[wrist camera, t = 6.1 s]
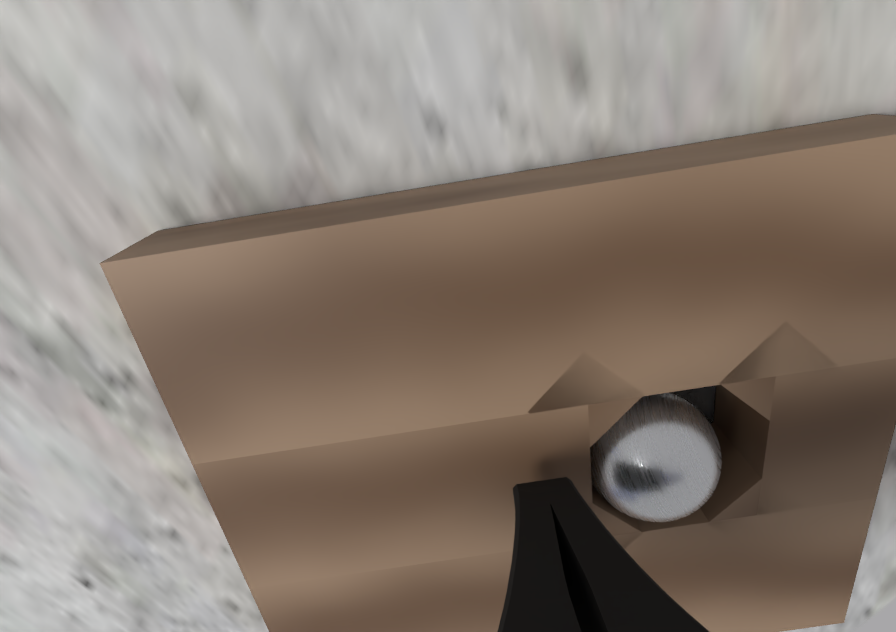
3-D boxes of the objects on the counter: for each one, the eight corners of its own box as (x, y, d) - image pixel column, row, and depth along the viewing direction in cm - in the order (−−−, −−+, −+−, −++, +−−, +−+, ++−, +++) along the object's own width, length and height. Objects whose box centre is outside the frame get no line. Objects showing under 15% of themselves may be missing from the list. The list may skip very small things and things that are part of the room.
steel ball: (755, 534, 12) (609, 562, 13) (734, 465, 15) (618, 494, 16) (691, 395, 12) (551, 438, 13) (684, 356, 15) (572, 395, 16)
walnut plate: (792, 556, 18) (843, 622, 16) (314, 624, 19) (299, 698, 17) (872, 114, 12) (974, 121, 10) (157, 230, 13) (99, 263, 10)
